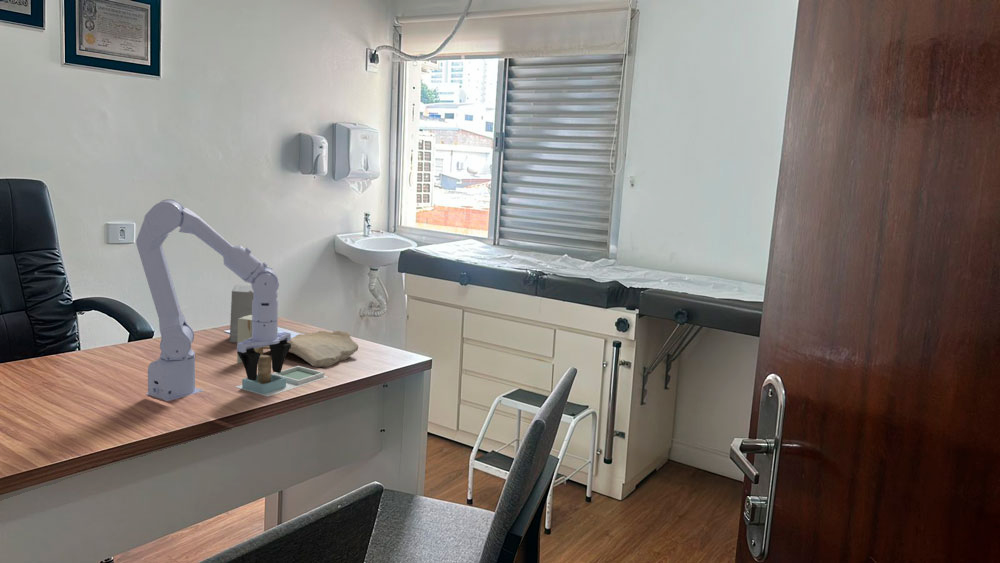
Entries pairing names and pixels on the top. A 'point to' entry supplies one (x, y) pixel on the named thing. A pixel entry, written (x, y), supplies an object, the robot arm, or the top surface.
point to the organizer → (294, 379)
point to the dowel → (264, 369)
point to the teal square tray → (257, 387)
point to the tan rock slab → (322, 347)
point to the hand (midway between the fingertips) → (264, 375)
